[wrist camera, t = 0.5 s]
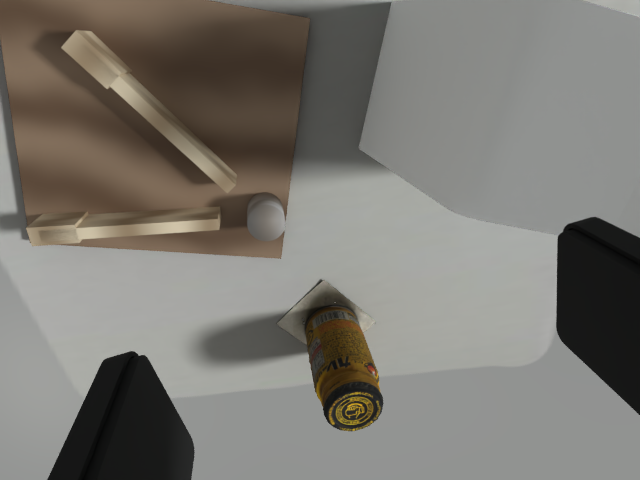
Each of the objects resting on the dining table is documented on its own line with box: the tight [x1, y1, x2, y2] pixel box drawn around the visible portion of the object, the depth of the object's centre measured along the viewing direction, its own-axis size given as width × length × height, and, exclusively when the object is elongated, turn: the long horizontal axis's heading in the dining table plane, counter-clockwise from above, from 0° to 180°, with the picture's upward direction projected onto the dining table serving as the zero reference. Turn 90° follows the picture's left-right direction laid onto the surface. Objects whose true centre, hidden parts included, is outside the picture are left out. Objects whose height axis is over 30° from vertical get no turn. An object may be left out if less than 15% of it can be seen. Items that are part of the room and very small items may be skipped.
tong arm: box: [61, 30, 237, 193], centre depth 33 cm, size 15×2×3 cm, turn 42°
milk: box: [359, 0, 640, 238], centre depth 26 cm, size 12×12×26 cm
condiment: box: [276, 280, 383, 431], centre depth 41 cm, size 7×8×12 cm
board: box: [0, 0, 310, 259], centre depth 35 cm, size 21×22×1 cm
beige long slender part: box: [26, 192, 286, 246], centre depth 36 cm, size 20×3×4 cm, turn 91°
